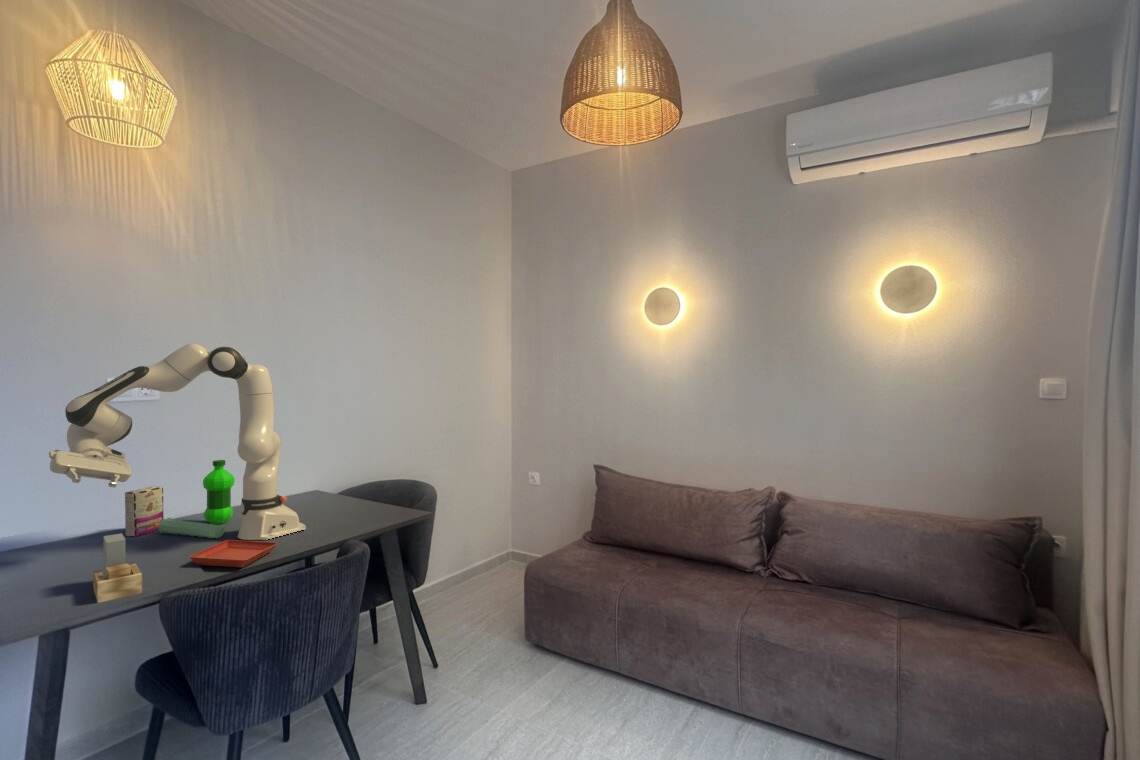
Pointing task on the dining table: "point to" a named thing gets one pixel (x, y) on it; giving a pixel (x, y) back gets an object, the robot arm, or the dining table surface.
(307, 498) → the dining table surface
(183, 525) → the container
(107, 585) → the rack
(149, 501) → the candy bar box
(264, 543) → the plant saucer
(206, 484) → the plastic bottle
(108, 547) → the grey rectangular block
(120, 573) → the offcut upper
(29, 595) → the dining table surface
